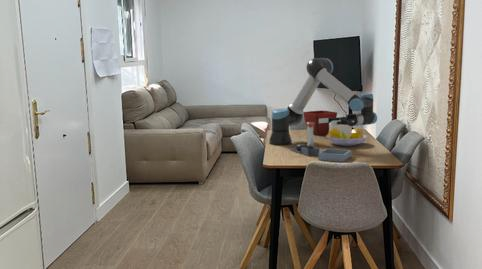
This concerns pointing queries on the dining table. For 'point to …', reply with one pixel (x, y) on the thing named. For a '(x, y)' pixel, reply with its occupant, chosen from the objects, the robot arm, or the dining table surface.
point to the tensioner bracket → (305, 150)
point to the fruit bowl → (346, 137)
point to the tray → (335, 155)
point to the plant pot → (315, 116)
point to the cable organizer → (341, 128)
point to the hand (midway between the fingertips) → (325, 122)
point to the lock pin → (309, 135)
